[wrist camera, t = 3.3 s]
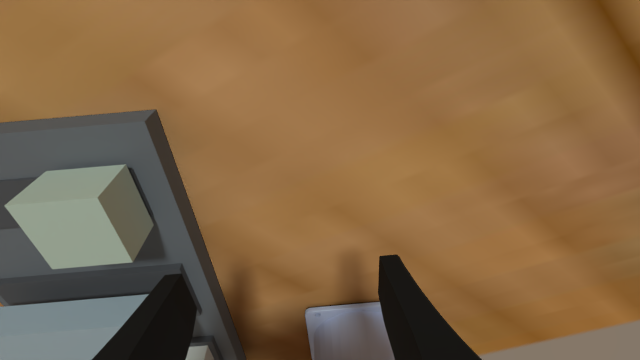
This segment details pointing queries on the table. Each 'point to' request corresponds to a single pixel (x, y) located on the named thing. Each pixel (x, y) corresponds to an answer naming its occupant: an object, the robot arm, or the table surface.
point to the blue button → (63, 328)
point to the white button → (199, 353)
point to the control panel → (158, 197)
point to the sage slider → (83, 216)
